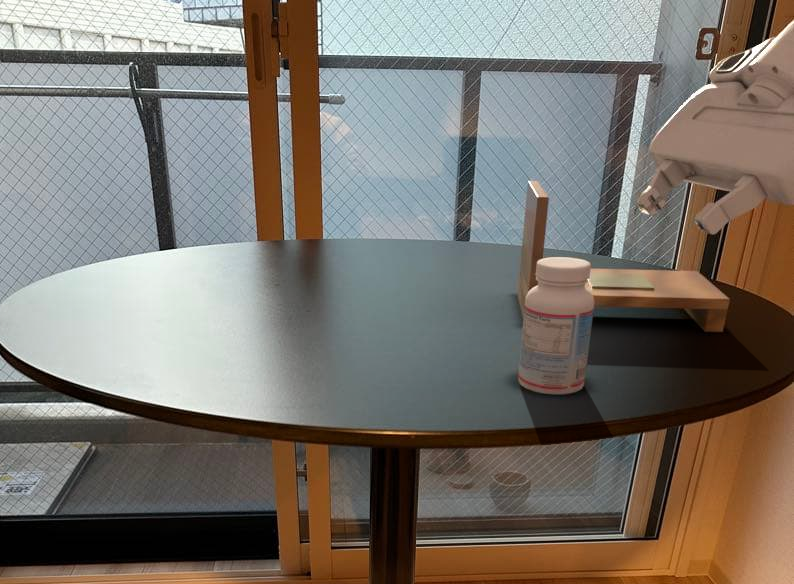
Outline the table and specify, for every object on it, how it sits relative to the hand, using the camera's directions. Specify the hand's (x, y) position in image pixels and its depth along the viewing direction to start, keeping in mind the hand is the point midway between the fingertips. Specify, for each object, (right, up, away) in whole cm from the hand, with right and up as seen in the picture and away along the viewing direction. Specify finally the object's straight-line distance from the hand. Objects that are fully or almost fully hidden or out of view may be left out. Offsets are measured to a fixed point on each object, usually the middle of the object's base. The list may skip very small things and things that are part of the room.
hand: (671, 218), depth 70 cm
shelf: (+2, -1, +27) cm, 27 cm away
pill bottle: (-9, -14, +5) cm, 18 cm away
